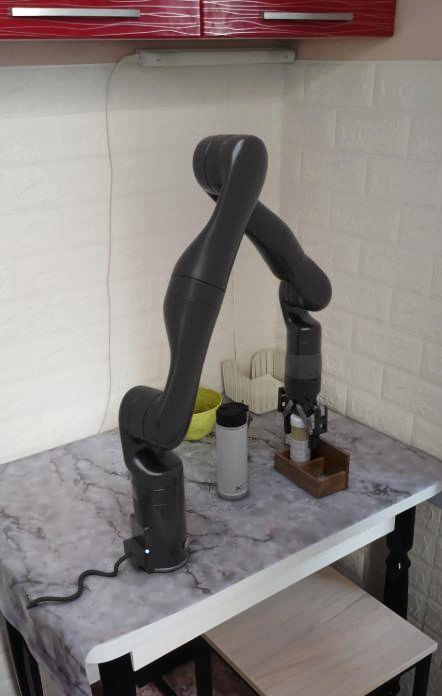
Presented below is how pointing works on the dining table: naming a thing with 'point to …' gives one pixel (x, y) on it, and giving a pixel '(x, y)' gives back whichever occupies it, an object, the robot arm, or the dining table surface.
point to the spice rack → (317, 469)
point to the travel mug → (232, 450)
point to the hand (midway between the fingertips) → (301, 440)
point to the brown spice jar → (299, 441)
